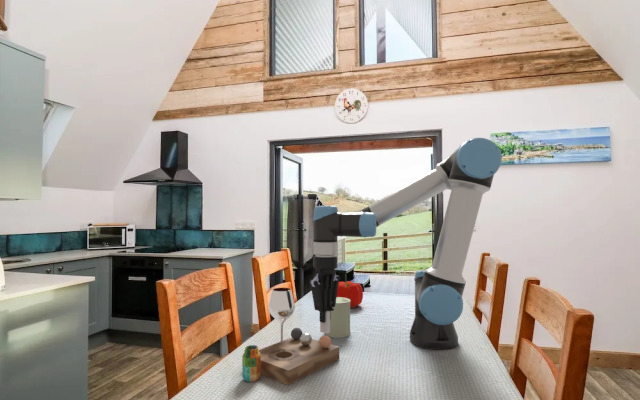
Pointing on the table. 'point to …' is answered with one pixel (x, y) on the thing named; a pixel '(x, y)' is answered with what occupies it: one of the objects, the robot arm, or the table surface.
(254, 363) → the jar
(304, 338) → the steel ball
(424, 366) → the table surface
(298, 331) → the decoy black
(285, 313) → the wineglass
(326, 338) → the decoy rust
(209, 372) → the table surface
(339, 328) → the can
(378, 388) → the table surface
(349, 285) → the red bell pepper
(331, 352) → the wooden block with hole
